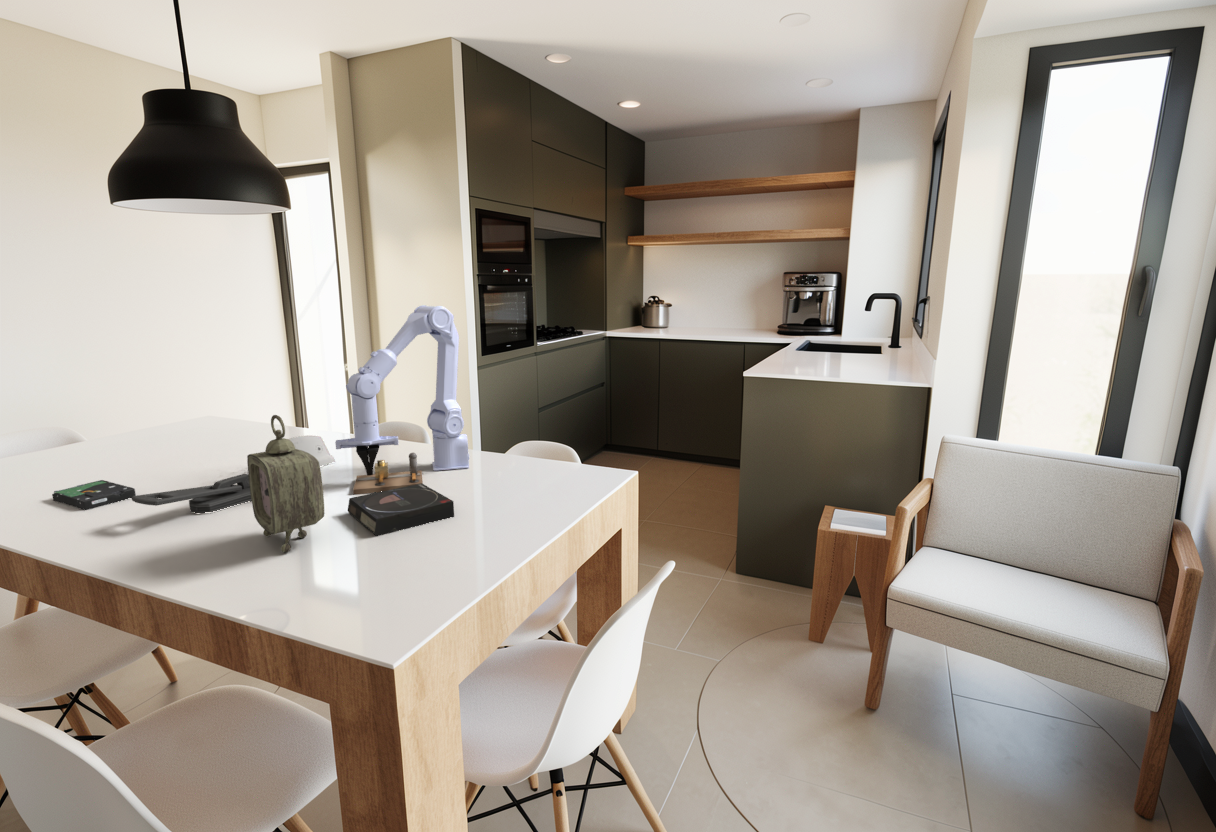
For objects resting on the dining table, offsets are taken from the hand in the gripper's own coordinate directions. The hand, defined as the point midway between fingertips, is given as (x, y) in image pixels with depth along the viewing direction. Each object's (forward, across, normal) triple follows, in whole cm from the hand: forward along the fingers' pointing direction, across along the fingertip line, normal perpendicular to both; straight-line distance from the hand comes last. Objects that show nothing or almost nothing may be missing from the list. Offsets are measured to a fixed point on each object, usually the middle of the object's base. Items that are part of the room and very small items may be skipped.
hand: (370, 474), depth 154 cm
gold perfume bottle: (+1, +3, -2) cm, 4 cm away
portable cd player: (+3, +8, -26) cm, 27 cm away
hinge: (+3, -19, +20) cm, 28 cm away
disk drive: (+3, -61, +7) cm, 62 cm away
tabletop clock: (+3, -12, -34) cm, 36 cm away
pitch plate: (+2, +4, -2) cm, 5 cm away
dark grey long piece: (+3, -34, -9) cm, 36 cm away
